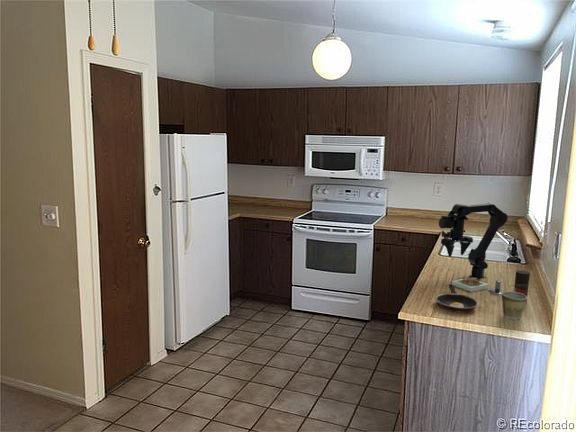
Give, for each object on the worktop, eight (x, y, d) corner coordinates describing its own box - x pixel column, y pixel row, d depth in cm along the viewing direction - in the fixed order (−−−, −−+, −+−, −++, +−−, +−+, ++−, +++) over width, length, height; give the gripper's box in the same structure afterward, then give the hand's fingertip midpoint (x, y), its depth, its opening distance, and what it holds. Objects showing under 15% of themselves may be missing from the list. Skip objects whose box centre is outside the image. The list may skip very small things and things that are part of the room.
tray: (468, 282, 255) (468, 277, 254) (487, 289, 244) (488, 284, 244) (451, 285, 249) (452, 280, 249) (471, 292, 238) (471, 287, 238)
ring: (469, 283, 251) (468, 277, 251) (483, 284, 243) (482, 278, 243) (460, 285, 248) (459, 279, 248) (473, 286, 240) (473, 280, 240)
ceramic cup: (517, 323, 201) (519, 300, 199) (495, 315, 209) (497, 294, 207) (532, 316, 209) (535, 294, 207) (510, 309, 217) (513, 288, 215)
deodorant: (509, 300, 228) (513, 270, 225) (519, 299, 230) (522, 269, 227) (519, 305, 222) (523, 274, 220) (529, 303, 224) (532, 273, 222)
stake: (495, 288, 245) (496, 277, 244) (509, 293, 238) (511, 282, 236) (484, 291, 241) (485, 280, 240) (498, 296, 234) (500, 284, 232)
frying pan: (436, 312, 212) (437, 304, 212) (430, 289, 243) (431, 282, 242) (481, 316, 209) (482, 308, 208) (469, 292, 239) (470, 285, 239)
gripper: (458, 223, 267) (456, 250, 270) (434, 226, 258) (432, 254, 261) (474, 227, 257) (472, 255, 260) (450, 230, 248) (447, 259, 251)
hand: (455, 255), depth 258 cm, fingers open, 9 cm apart
